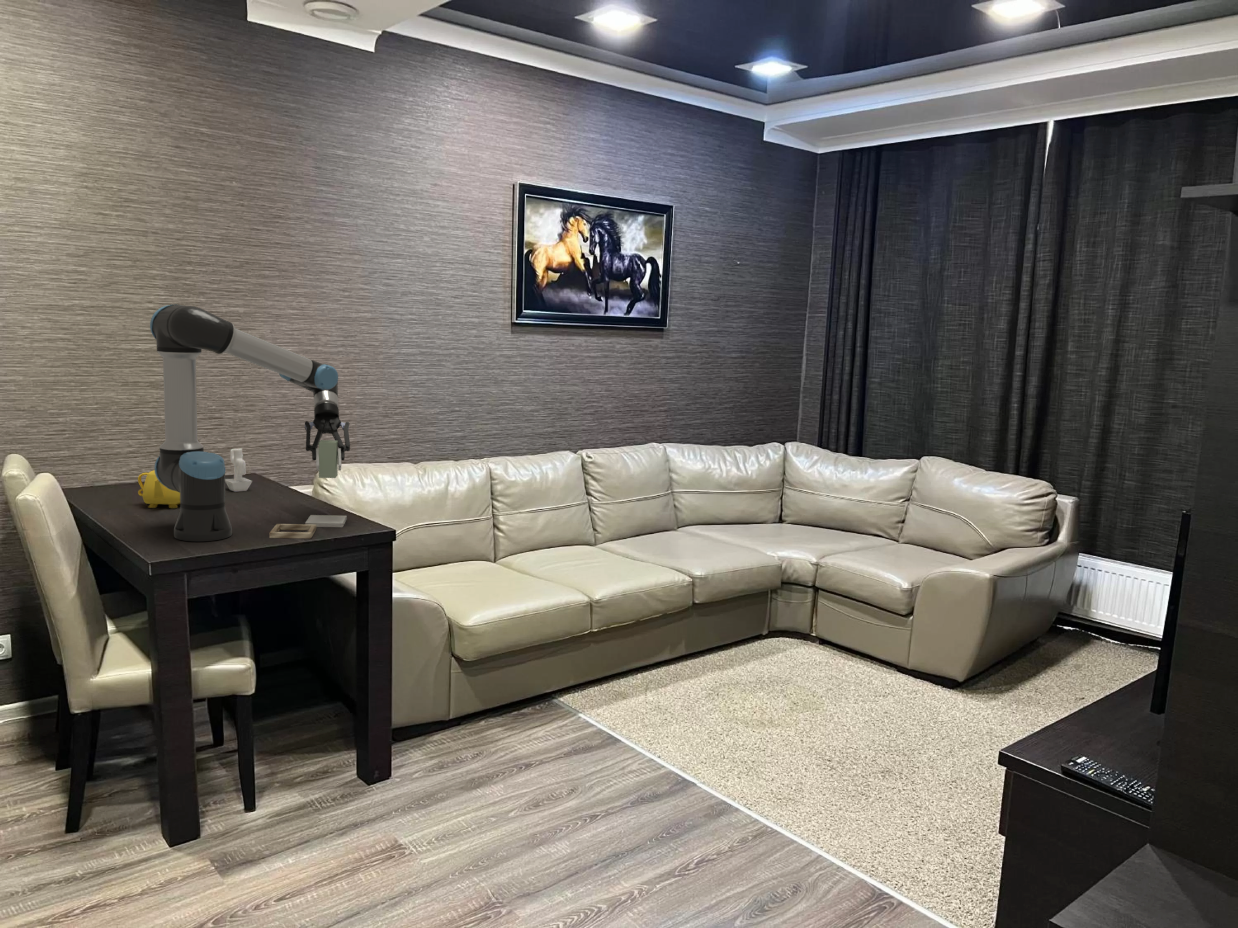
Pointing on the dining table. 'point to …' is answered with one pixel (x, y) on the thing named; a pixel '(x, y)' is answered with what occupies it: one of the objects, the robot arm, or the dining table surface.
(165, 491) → the teapot
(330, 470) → the sage block
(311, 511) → the dining table surface
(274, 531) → the board
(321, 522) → the grey mat
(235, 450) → the figurine
